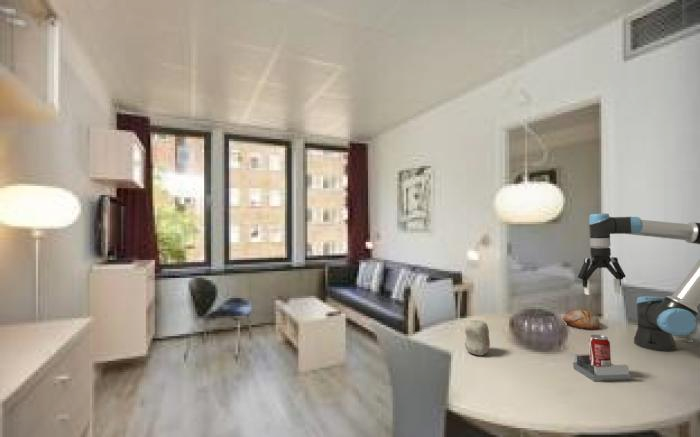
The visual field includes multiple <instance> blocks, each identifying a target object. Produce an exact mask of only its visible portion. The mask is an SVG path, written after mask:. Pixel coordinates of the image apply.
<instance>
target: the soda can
mask: <svg viewBox="0 0 700 437" xmlns="http://www.w3.org/2000/svg"><path fill="white" fill-rule="evenodd" d="M588 345H589V346H588V348H589V349H588V350H589V354H590V365H591V366H593V367H594V366H601V365H611V363H612V357H611V342H610V341H609V339H608V336H605V335H603V334H602V335H601V334H590V338H589V339H588Z"/></svg>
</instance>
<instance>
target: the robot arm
mask: <svg viewBox="0 0 700 437" xmlns="http://www.w3.org/2000/svg"><path fill="white" fill-rule="evenodd" d="M588 225H589V226H588V227H589V243H590V244H589V246H590V248H589V249H590V250H589V251H590V256H591V257H590V258H588V257H584V258H583V264H582V266H581V268H580V271H579V274H578V276H577V279H580V280H582V287H583V288H584V291H583V292H584V295H587V296H591V283H590V282H591V281H590V280H589V279H590V277H591V276H592V275H593V274H594V272H595V271H596V270H598V269H602V268H603V269H607V270H608V272H609V273H610V274H611V275H612V276H613V277H614V278H613V293H614V294H617V295H620V294H621V286H622V280H623V279H625V278H626V274H625V272H624V270H623V268H622V267H621V265H620V263H619V259H618V257H614V256H612V257H611V255H612V253H611V250H612V249H611V235H615V234H617V235H619V234H621V235H622V234H623V235H624V234H625V235H630V236H642V237H652V238H661V239H671V240H678V241H679V240H681V241H685V242H686V243H688V244H695V245H700V222H693V221H692V222H688V223H682V222H681V223H680V222H679V223H678V222H669V221H660V220H659V221H658V220H649V219H648V220H647V219H641V218H640V217H638V216H610V213H608V212H607V213H603V212H602V213H591V214H590V215H589V218H588ZM699 305H700V259H699V260H697V262H696V264H695V265H694V266H693V267H692V269H691V270H690V271H689V273H688V274H687V275H686V277H685V278H684V280H683V281H682V282H681V283H680V285H679V286H678V287H677V288H676V290H675V291H674V292H673V293H672V295H667V296H651V295H650V296H649V295H648V296H647V295H646V296H645V295H643V296H641V295H640V296H638V297H637V298H636V314H637V316H636V317H637V329H636V331H635V334H634V337H633V343H634V344H635V345H636V346H638V347H640V348H644V349H648V350H652V351H653V350H654V351H660V352H661V351H662V352H671V351H672V352H673V351H675V350H677V343H676V342H675V340H674V337H673V335H674V336H685V335H688V334H690V333H692V332H694V330H695V329H696V327H697V318H696V317H697V315H699V310H698V308H697V307H698V306H699Z"/></svg>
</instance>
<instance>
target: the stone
mask: <svg viewBox="0 0 700 437" xmlns="http://www.w3.org/2000/svg"><path fill="white" fill-rule="evenodd" d="M464 326H465V327H464V333H465V337H466V338H465V341H464V346H465V350H466V351H467V352H469V353H470V354H472V355H477V356H484V355H486V354H487V353H488V351H489V349H490V347H491V343H490V342H491V341H490V329H489V326H488V324H487V322H485V321H483V320H477V319H475V320H474V319H472V320H469V321H466V322H465V325H464Z"/></svg>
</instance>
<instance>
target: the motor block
mask: <svg viewBox="0 0 700 437" xmlns="http://www.w3.org/2000/svg"><path fill="white" fill-rule="evenodd" d="M572 364H573V369H574V370H575V371H577V372H579V373H580V374H581V375H583V376H584V377H586V378H587V379H589V380H591V381H592V382H613V381H614V382H615V381H616V382H617V381H619V380H620V381H631V372H629V365H627V364H613V363H612V362H611V365H601V366H594V367H593V366H591V365H590V353H580V354H579V353H578V354H576V353H575V354H574V362H573V363H572Z"/></svg>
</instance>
